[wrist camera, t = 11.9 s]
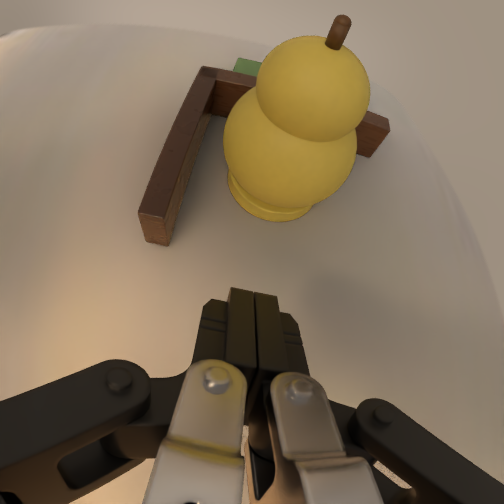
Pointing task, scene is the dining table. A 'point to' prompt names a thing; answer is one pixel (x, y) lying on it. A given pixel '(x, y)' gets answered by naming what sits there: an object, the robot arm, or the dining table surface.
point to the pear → (297, 126)
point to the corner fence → (190, 137)
